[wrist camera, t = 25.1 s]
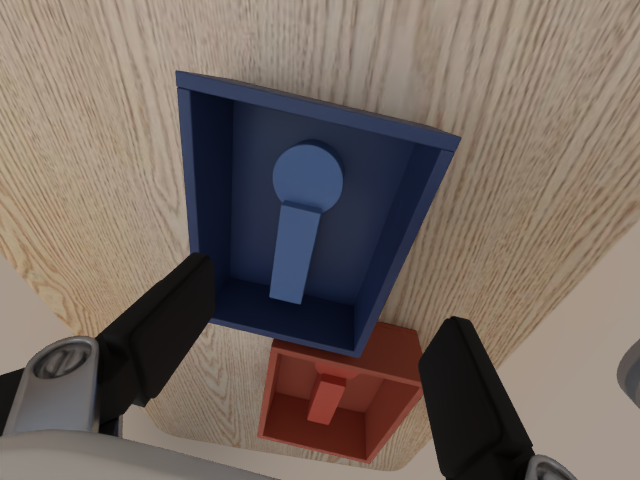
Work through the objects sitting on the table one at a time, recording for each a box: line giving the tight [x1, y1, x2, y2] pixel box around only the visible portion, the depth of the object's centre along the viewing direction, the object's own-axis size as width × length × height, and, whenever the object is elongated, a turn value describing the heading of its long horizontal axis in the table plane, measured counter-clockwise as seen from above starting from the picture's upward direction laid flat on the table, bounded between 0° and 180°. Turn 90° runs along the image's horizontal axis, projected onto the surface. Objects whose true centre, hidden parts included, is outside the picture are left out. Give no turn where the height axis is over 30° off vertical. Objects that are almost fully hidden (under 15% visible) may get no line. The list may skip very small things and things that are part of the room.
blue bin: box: [175, 70, 461, 358], centre depth 16 cm, size 15×12×5 cm
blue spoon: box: [269, 139, 345, 304], centre depth 17 cm, size 11×4×3 cm, turn 168°
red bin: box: [257, 322, 424, 464], centre depth 24 cm, size 15×12×5 cm
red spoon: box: [307, 362, 359, 425], centre depth 25 cm, size 11×4×3 cm, turn 169°
